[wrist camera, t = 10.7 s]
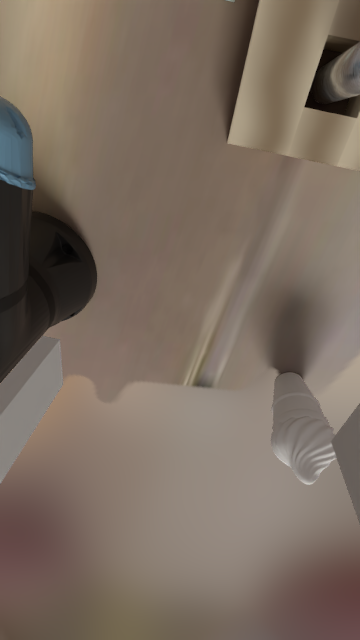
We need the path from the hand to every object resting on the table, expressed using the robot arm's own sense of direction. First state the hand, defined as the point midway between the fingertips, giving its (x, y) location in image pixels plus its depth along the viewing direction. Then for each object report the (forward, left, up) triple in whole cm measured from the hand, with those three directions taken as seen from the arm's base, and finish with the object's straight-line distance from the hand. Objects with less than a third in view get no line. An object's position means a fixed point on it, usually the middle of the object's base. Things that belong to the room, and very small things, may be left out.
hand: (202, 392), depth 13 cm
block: (+7, +15, -27) cm, 31 cm away
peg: (+7, +15, -27) cm, 31 cm away
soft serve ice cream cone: (+17, -21, -27) cm, 38 cm away
